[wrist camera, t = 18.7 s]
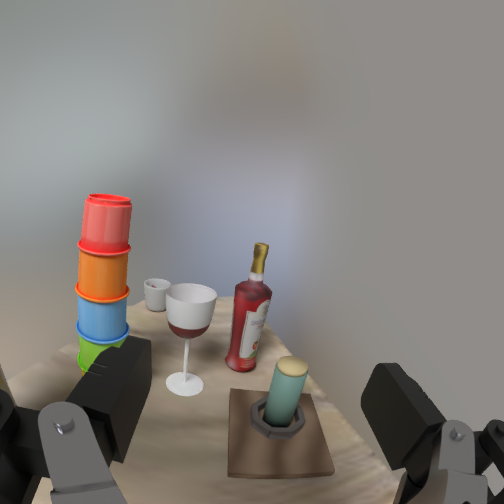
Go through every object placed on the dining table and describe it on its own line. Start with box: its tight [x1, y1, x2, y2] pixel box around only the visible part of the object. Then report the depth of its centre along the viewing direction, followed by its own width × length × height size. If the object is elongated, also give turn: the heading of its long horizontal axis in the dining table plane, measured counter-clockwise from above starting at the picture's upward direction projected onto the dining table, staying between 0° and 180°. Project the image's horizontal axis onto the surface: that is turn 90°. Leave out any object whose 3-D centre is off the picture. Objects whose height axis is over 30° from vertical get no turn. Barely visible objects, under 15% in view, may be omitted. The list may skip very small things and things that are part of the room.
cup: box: [144, 279, 172, 312], centre depth 79 cm, size 11×8×8 cm
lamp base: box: [228, 388, 335, 479], centre depth 40 cm, size 16×20×4 cm
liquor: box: [225, 243, 272, 372], centre depth 56 cm, size 7×7×28 cm
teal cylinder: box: [262, 356, 308, 428], centre depth 40 cm, size 5×5×13 cm
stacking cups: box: [75, 194, 132, 377], centre depth 38 cm, size 10×10×35 cm
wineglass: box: [166, 283, 217, 396], centre depth 47 cm, size 8×9×20 cm
